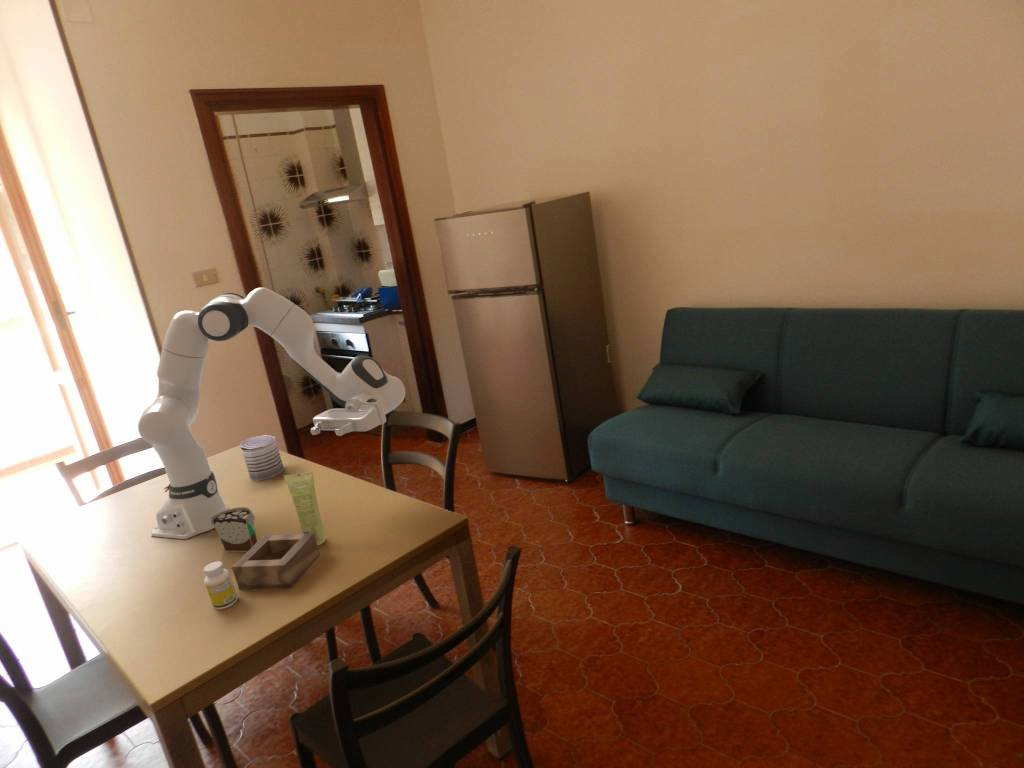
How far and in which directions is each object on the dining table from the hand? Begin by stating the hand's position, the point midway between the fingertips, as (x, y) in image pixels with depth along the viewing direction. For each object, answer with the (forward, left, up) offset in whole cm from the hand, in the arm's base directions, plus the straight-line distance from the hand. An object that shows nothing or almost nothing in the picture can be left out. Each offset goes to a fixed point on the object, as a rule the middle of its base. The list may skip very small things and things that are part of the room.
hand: (324, 432), depth 183 cm
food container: (-25, -11, -26) cm, 37 cm away
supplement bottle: (-13, -36, -26) cm, 47 cm away
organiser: (-7, -24, -26) cm, 36 cm away
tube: (-4, -11, -26) cm, 28 cm away
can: (-48, +36, -26) cm, 65 cm away
